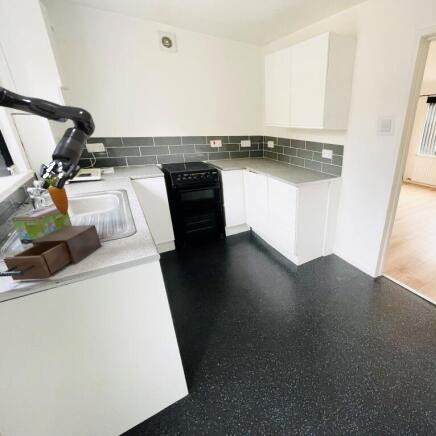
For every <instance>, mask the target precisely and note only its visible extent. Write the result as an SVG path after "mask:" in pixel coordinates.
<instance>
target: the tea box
mask: <svg viewBox="0 0 436 436" xmlns="http://www.w3.org/2000/svg"><path fill="white" fill-rule="evenodd" d="M11 219H12V223H13V225H14V228H15V231H16V234H17V237H18V238H19V239H18V240H19V241H20V243H21V246H22V249H23V251H24V250H26V249H28V248H30V247H32V246H33V244H32V241H34V240H36V239H38V238H40V237H43V236H45V235H47V234H49V233H51V232H53V231H55V230H58V229H60V228H62V227H64V226H73V224H72V223H73V222H72V220H71V217H70V214H69V210H68V211H67V214H66V215H64V214H62V213H61V212H60V211H59V210H58V209H57V208H56V206H55V205H53V206H40V207H37V208H35V209H32V210H29V211H26V212H23V213H20V214H17V215H14V216H12V217H11Z"/></svg>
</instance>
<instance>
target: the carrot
mask: <svg viewBox="0 0 436 436" xmlns="http://www.w3.org/2000/svg"><path fill="white" fill-rule="evenodd" d="M58 178H59V175H58V176H56V177H55V178H54V179H53V180H51V179H49V180H50V181H49V180H48V179H45V181H46V182H48V183H49V184H50V186H49V188H48V189H47V190H48V191H47V192H48V194H49V196H50V198H51V201H52V203H53V206H56V208H57V209H58V210H59V211H60V212H61V213H62V214H64V215H66V214H67V211H68V212H69V198H68V195H67V191H66V188H65V187H63V188H62V189H57V188H56V187H55V184H56V182H57V180H58Z"/></svg>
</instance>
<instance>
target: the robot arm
mask: <svg viewBox="0 0 436 436" xmlns="http://www.w3.org/2000/svg"><path fill="white" fill-rule="evenodd" d="M0 107H1V108H8V109H12V110H18V111H20V112H24V113H27V114H32V115H35V116H38V117H40V118H44V119H47V120H51V121H54V122H57V123H61V124H63V123H66V122H68V121H72V124H73V126H72V127H68V128H67V129H65V131H64V133H63V134H62V136H61V139H60V140H59V141H58V143H57V144H56V147H55V148H54V151H53V152H52V154H51V159H52V160H51V162H49V164H44V163H42V164H40V168H39V173H38V177H39V178H41V179H43V180H42V182H41V184H40V188H41V189H43V190H45V191H46V190H48V188H49V187H51V185H50V184H49V183H48V182H46V181H45V179H48V180H49V179H51V180H52V181H53V179H54V178H55V179H56V176H58V177H59V178H58V180H57V182H56V184H55V187H56V188H57V189H62V188H63V187H64V186H65V184H66V182H68V181H69V180H70V181H72V180H74V178H75V177H77V175H78V173H79V172H80V171H81V169H82V167H80V166H79V165H78V163H79V161H80V158H81V156H82V154H83V152H84V147H85V145H86V144H87V141H88V140H89V139H90V138H91V137H92V136H93V135H94V133H95V131H96V124H95V121H94V117H93V115H92V113H91V112H89V111H88V110H86V109H84V108H82V107H79V106H70V105H62V104H59V103H56V102H53V101H49V100H46V99H43V98H39V97H33V96H27V95H22V94H19V93H17V92H13V91H11V90H10V89H7V88H5V87H3V86H1V85H0ZM49 181H50V180H49ZM64 188H65V187H64Z"/></svg>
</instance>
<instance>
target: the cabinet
mask: <svg viewBox="0 0 436 436" xmlns="http://www.w3.org/2000/svg"><path fill="white" fill-rule="evenodd" d="M59 242H65V243H66V246H67V249H68V251H69V254H70V257H71V260H72V261H70V262H69V263H67V264H66V265H77V264H78V263H79V262H81V261H82V260H83V259H85V258H87V257H88V256H89V255H91V254H93V253H94V252H95V251H97V250H98V249H100V248H101V247H102V244H101V243H102V242H101V240H100V236H99V233H98V229H97V227H96V225H95V224H86V225H85V224H84V225H72V226H64V227H62V228H60V229H58V230H55V231H53V232H51V233H49V234H47V235H45V236H43V237H40V238H38V239H36V240H34V241H32V244H33V246H34V245H36V244H38V243H59Z"/></svg>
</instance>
